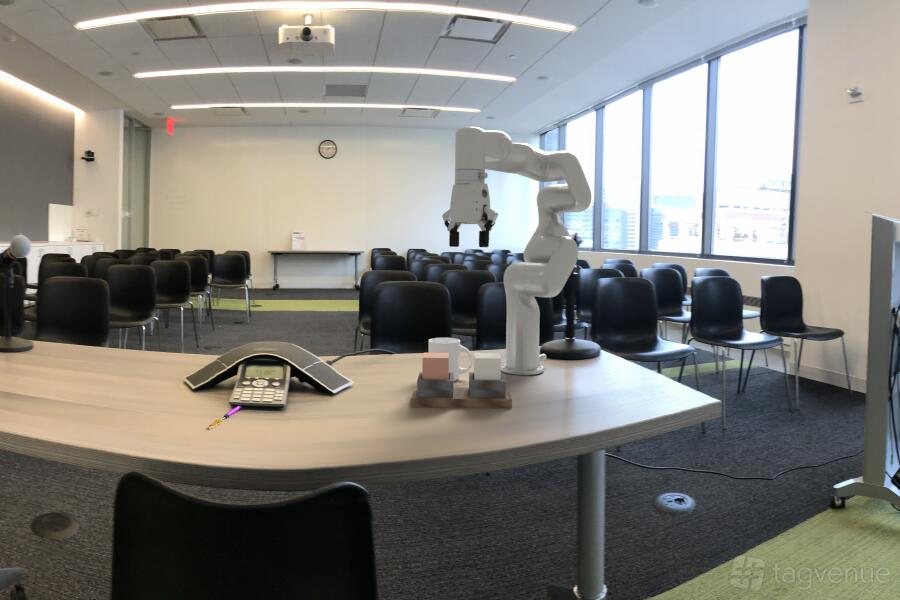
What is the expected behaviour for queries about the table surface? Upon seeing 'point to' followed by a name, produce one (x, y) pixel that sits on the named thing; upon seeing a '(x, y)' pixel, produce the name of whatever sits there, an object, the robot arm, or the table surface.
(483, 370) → the cream key
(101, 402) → the table surface
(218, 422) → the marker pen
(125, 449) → the table surface
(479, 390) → the key panel
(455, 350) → the mug
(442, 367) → the terracotta key
